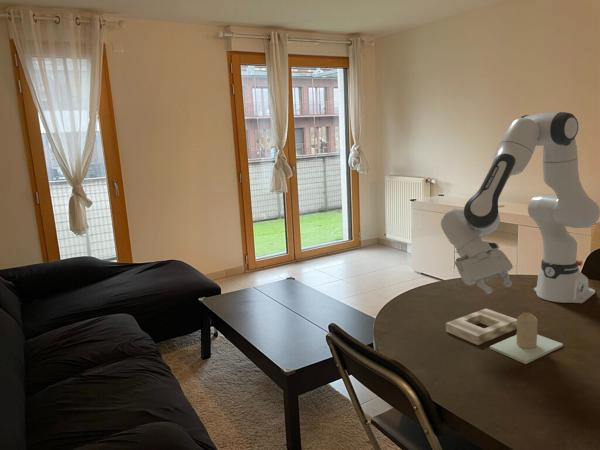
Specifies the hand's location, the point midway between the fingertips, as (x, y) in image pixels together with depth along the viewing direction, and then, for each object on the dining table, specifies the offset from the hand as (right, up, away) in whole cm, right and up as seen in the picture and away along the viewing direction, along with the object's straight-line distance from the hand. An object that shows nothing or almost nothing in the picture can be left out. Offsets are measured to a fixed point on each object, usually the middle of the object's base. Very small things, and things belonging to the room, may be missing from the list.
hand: (500, 289), depth 146 cm
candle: (+6, -16, -5) cm, 18 cm away
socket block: (-2, -15, +9) cm, 17 cm away
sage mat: (+6, -17, -5) cm, 19 cm away
